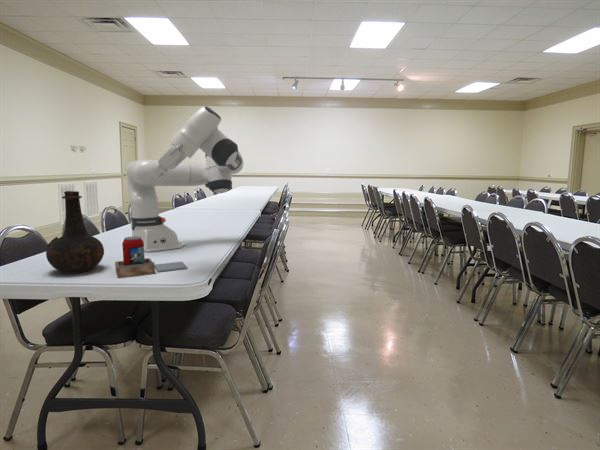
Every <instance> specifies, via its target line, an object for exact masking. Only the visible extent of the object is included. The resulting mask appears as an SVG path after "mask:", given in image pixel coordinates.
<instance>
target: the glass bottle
mask: <svg viewBox="0 0 600 450" xmlns="http://www.w3.org/2000/svg"><path fill="white" fill-rule="evenodd" d="M63 193H64V195H63V196H62V197H61V199H63V200H65V201H64V205H65V206H64V207H65V222H64V223H65V225H64V229H63V230H64V231H63V233H62V236H60V237H58V236H55V237H54V238H53V239H52V240H50V242H49V243H47V245H46V249H45V250H46V252H45V255H46V260H47V262H48V264H49V265H51V267H52V268H54V269H55V270H57V271H59V272H61V273H65V274H78V273H79V274H80V273H84V272H89V271H91V270H93V269H95V267H97V266H99V264H100V263H101V262H102V259H103V257H104V255H105V249H104V245H103V243H102V241H101V240H99V239H98V238H96V237H94V236H93V235H90V234H89V233H88V231H87V228H86V225H85V223H84V218H83V214H82V213H83V212H82V207H81V199H82V198H83V196H82V195H80V191H78V190H77V191H76V190H73V191H72V190H66V191H63Z"/></svg>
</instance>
